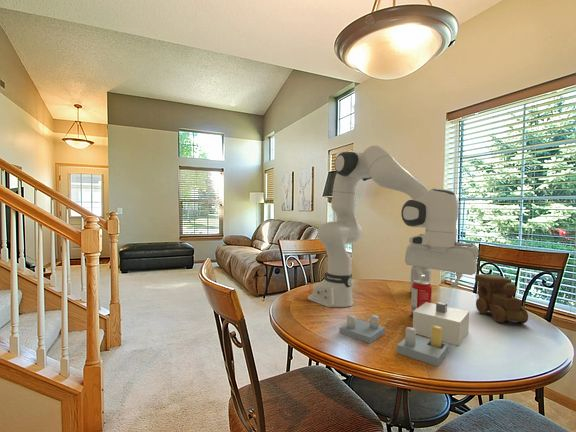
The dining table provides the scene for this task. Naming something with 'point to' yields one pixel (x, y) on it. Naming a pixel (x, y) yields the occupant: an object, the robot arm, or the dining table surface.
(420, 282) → the soda can
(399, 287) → the dining table surface
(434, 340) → the peg
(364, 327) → the board
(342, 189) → the robot arm
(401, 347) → the board
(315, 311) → the dining table surface
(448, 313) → the cover
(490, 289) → the wooden toy train
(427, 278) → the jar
